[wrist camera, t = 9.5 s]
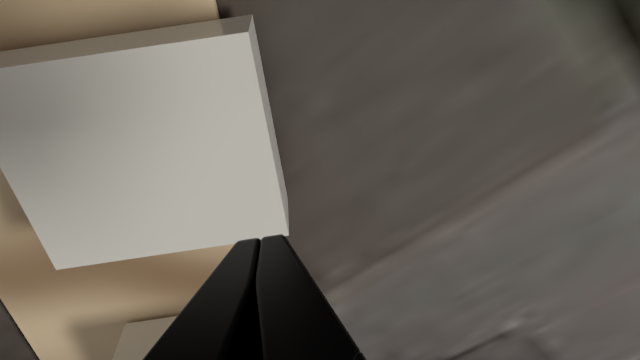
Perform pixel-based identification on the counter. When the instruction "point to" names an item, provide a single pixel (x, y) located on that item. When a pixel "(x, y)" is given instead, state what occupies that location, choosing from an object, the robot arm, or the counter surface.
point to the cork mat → (105, 278)
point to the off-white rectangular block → (142, 142)
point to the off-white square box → (140, 338)
